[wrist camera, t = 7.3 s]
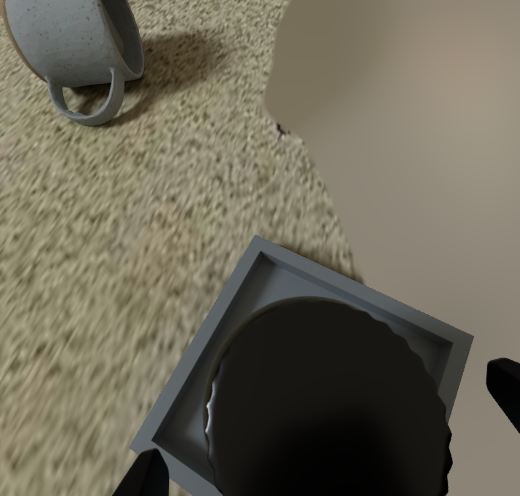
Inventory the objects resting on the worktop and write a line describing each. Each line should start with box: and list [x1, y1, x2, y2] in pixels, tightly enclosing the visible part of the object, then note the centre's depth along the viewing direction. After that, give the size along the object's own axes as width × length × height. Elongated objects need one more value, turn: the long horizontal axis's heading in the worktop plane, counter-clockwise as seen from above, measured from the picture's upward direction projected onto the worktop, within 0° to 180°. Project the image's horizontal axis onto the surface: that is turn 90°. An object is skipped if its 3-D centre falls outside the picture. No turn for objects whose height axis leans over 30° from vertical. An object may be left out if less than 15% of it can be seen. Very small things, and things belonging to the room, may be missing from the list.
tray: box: [129, 235, 474, 496], centre depth 17 cm, size 13×13×2 cm
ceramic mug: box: [2, 0, 144, 126], centre depth 25 cm, size 11×8×8 cm
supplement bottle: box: [203, 296, 453, 496], centre depth 11 cm, size 7×7×12 cm
